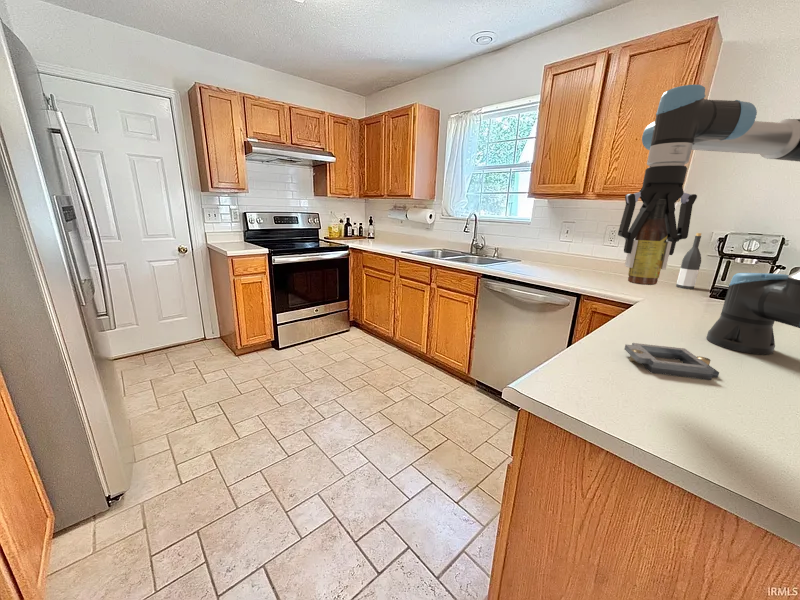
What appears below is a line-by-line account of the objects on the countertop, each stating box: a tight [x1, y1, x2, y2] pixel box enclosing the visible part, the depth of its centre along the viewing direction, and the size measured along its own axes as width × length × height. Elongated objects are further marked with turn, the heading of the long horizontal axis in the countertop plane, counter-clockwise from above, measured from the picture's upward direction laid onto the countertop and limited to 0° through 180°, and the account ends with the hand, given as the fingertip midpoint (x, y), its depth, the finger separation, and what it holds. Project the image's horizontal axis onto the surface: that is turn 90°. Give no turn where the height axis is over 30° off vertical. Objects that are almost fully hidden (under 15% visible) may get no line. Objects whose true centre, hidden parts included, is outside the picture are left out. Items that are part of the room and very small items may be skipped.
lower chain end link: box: [640, 351, 720, 381], centre depth 89 cm, size 16×13×3 cm
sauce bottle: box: [627, 199, 668, 286], centre depth 80 cm, size 7×6×20 cm
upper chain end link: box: [624, 342, 715, 375], centre depth 90 cm, size 16×13×3 cm
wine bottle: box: [675, 232, 702, 290], centre depth 184 cm, size 8×8×30 cm
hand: (644, 267), depth 82 cm, fingers closed on sauce bottle, 6 cm apart
